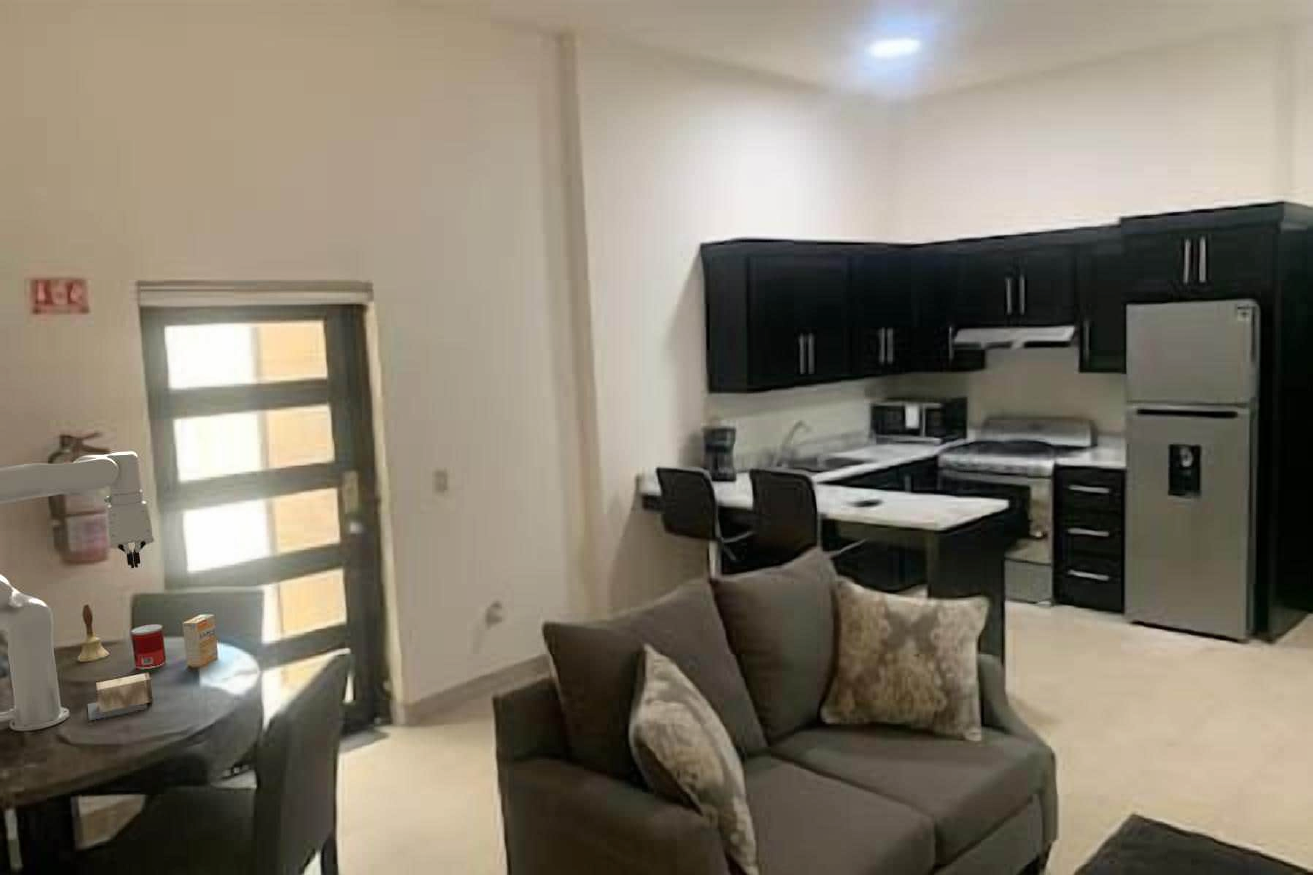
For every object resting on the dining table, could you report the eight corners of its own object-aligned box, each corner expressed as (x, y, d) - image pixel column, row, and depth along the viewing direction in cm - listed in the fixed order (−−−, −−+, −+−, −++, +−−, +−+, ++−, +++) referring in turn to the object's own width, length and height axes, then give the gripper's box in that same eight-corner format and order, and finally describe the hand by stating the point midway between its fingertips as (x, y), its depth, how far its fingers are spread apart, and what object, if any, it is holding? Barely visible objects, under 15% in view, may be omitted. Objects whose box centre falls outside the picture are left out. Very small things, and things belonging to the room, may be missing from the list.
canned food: (171, 662, 294) (167, 626, 292) (145, 672, 287) (141, 634, 286) (156, 659, 298) (152, 622, 297) (129, 667, 291) (125, 630, 290)
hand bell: (70, 661, 300) (63, 608, 298) (91, 651, 308) (85, 600, 306) (94, 662, 298) (88, 609, 296) (115, 652, 306) (109, 600, 304)
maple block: (152, 701, 262) (100, 712, 256) (150, 694, 267) (99, 705, 261) (150, 679, 262) (97, 689, 256) (148, 672, 267) (96, 682, 261)
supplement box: (201, 667, 288) (196, 622, 287) (186, 667, 289) (181, 622, 288) (219, 657, 296) (214, 613, 295) (204, 657, 297) (200, 613, 296)
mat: (89, 721, 253) (88, 719, 252) (87, 706, 263) (87, 704, 263) (147, 708, 259) (147, 706, 259) (143, 694, 269) (143, 692, 269)
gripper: (94, 505, 262) (103, 574, 264) (159, 497, 269) (166, 565, 271) (93, 500, 268) (102, 569, 270) (156, 493, 276) (164, 559, 278)
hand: (134, 566), depth 271 cm, fingers closed
